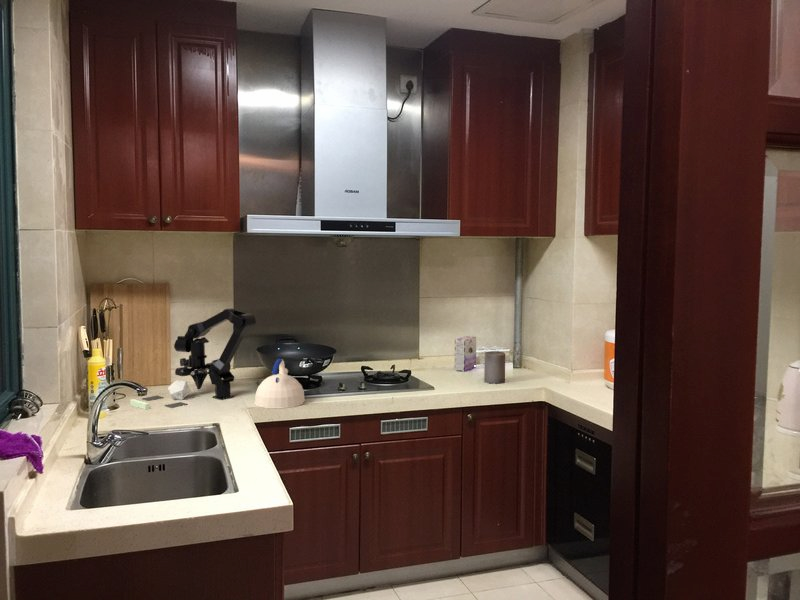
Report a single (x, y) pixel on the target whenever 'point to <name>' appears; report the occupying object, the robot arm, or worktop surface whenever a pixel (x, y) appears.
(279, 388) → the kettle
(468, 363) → the candy box
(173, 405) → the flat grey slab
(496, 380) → the pillar candle
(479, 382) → the worktop surface
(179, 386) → the die
